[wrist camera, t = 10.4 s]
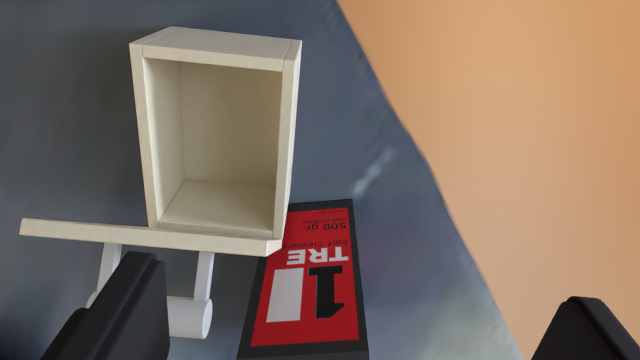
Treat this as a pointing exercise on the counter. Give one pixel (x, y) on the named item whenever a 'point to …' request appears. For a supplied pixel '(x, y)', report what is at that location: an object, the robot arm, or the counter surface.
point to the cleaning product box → (309, 290)
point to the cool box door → (183, 312)
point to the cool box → (216, 129)
